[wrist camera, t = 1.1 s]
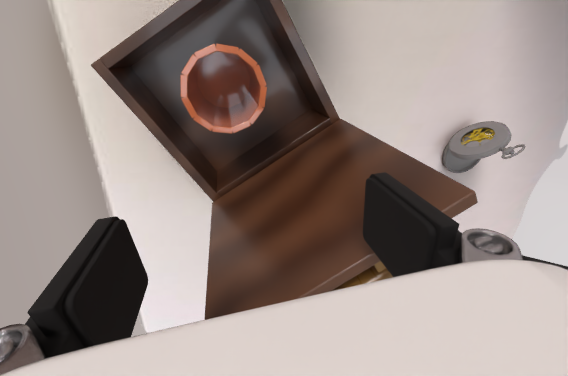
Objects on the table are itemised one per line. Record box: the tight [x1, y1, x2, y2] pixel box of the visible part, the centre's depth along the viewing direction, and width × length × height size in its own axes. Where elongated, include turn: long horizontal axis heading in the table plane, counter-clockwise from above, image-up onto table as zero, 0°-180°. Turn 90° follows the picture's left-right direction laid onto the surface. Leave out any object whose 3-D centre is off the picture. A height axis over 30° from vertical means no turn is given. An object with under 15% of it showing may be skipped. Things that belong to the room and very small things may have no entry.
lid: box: [205, 119, 478, 320], centre depth 22 cm, size 17×16×5 cm
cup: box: [180, 44, 267, 134], centre depth 25 cm, size 6×6×10 cm
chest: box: [91, 0, 340, 202], centre depth 28 cm, size 16×16×7 cm
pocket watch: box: [443, 121, 525, 173], centre depth 36 cm, size 8×8×10 cm
